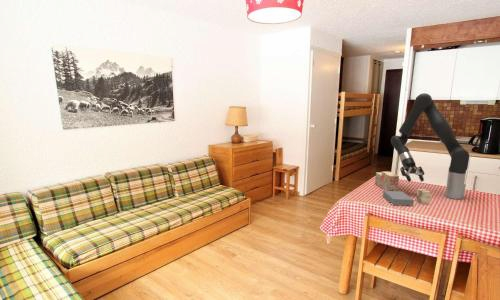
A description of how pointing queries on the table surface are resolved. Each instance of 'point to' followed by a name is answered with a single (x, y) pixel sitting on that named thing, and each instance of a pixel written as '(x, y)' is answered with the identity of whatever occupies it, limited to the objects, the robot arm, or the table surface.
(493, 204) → the table surface
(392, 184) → the stack of blocks
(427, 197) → the birch block
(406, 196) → the slate plinth
